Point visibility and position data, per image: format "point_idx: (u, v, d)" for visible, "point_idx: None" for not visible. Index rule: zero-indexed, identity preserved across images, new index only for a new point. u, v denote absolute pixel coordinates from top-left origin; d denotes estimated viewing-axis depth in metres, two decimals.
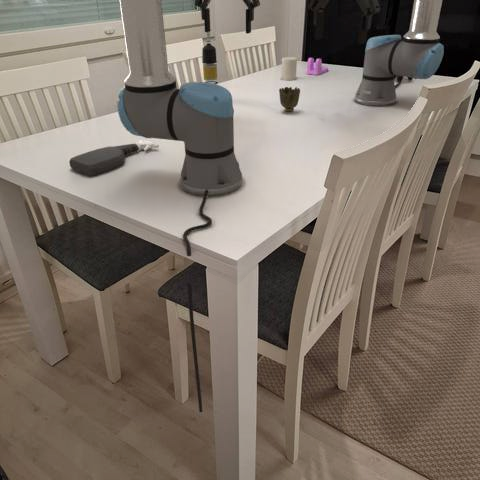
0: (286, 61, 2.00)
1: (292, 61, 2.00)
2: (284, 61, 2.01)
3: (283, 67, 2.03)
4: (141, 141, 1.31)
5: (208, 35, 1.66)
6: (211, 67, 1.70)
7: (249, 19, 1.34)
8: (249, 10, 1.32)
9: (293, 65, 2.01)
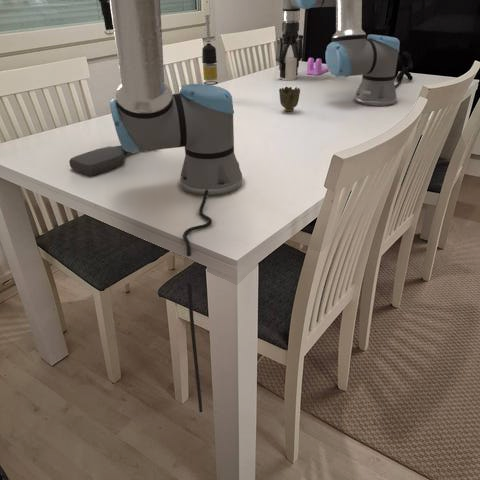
0: (286, 61, 2.00)
1: (292, 61, 2.00)
2: (284, 61, 2.01)
3: None
4: None
5: (208, 35, 1.66)
6: (211, 67, 1.70)
7: None
8: None
9: (293, 65, 2.01)
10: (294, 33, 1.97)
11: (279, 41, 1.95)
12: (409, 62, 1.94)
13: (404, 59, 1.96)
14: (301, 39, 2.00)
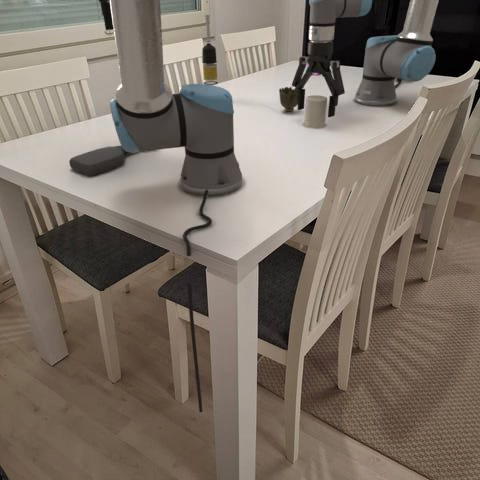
0: (326, 100, 1.43)
1: None
2: (325, 102, 1.42)
3: (324, 110, 1.44)
4: None
5: (208, 35, 1.66)
6: (211, 67, 1.70)
7: None
8: None
9: None
10: None
11: (338, 65, 1.34)
12: None
13: None
14: None
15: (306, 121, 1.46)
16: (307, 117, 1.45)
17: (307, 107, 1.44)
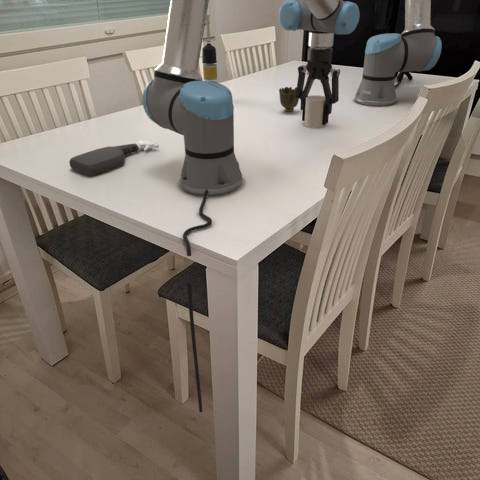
0: None
1: None
2: (325, 102, 1.42)
3: None
4: (141, 141, 1.31)
5: (208, 35, 1.66)
6: (211, 67, 1.70)
7: (326, 113, 1.43)
8: (327, 105, 1.42)
9: None
10: None
11: None
12: None
13: None
14: None
15: (306, 121, 1.46)
16: (307, 117, 1.45)
17: (307, 107, 1.44)
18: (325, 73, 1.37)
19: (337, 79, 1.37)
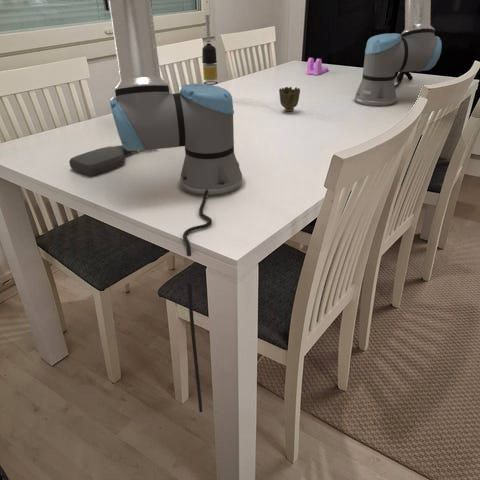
0: None
1: None
2: None
3: None
4: None
5: (208, 35, 1.66)
6: (211, 67, 1.70)
7: None
8: None
9: None
10: None
11: None
12: None
13: None
14: None
15: None
16: None
17: None
18: None
19: None
